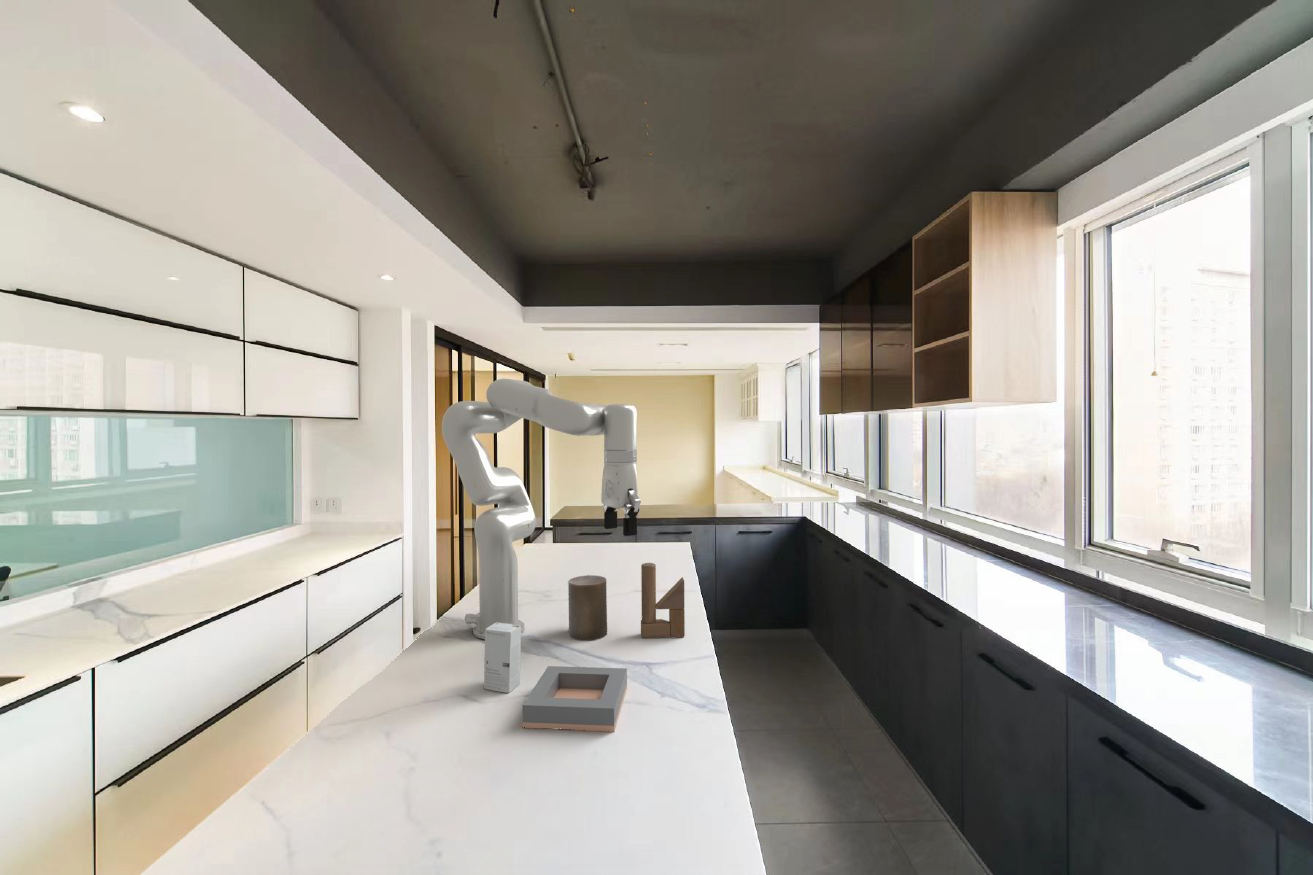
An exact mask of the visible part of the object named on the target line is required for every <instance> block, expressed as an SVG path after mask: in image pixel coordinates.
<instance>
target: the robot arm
mask: <svg viewBox="0 0 1313 875" xmlns="http://www.w3.org/2000/svg"><path fill="white" fill-rule="evenodd" d="M485 396H486V400H487V401H477V400H462V401H457V402H455V403H453V404H451V405H450V406H449V407H448V408H447V409H446V411H445V412H444V415H443V417H442V420H441V435H442V438H443V441H444V443H445V445H446V447H447V449H448V452H449V453H450V455H451V457H452V459H453V461H454V464H455V466H456V470H457V472H458V475H459V478H460V480H461V482H462V485H463V488H464V492H465V493H466V495H467V497H468V500H469V501H470V503H472V504H473V506H474V505H475V506H477V507H482V506H490V505H491V506H492V505H498V507H494V508H490V509H487V510H485V511H483V512H482V513H481V514H480V515H479V516H478V517H477V518H476V521H475V523H474V535H475V536H474V537H475V541H476V546H477V552H478V554H477V555H478V573H479V574H478V576H479V578H478V581H479V584H478V589H479V590H478V592H479V593H478V595H479V598H478V600H479V601H478V602H479V603H478V604H479V612H477V613H476V614H475V613H465V615H464V621H465V624H467V625H469V624H470V625H475V626H474V627H473V632H472V633H473V635H474V636H475V637H476V638H479V639H482V640H485V629H486V628H488V627H489V626H491V625H493V624H494V623H496V622H497V623H507V624H512V625H519V626H521V633H522V632H523V631H525V622H523V621H522V620H520V619H519V586H518V585H519V580H518V579H519V577H518V574H519V573H518V571H519V569H518V566H519V563H518V556H517V553H516V550H515V548H514V545H513V542H517V541H519V540H522V539H525V538H528V537H529V536H531V534H533V533H534V531H535V529H536V526H537V518H536V513H535V510H534V507H533V505H532V503H531V501H530V500H531V499H530V498H529V495H528V492H527V490H526V488H525V485H524V483H523V482H524V481H522V479H521V477H520V475H519V474H518V473H517V472H516V471H515V470H513V469H511V468H509V467H504V466H500V467H496V466H494V465H493V462H492V460H491V458H490V456H489V452H488V450H487V449H486V447H485V446H484V444H483V443H482V442H481V441H480V439H478V438H477V437H476V434H480V435H481V434H498V433H500V432H504V430H506V429H507V428H510V427H511V426H512V425H514V424H515V423H517V422H518V421H520V420H521V419H525V420H529V421H532V422H535V423H537V424H539V425H541V426H542V427H544V428H547V429H550V430H554V431H557V432H560V433H563V434H567V435H572V436H578V437H579V436H592V437H594V436H603V469H602V479H601V495H600V496H601V497H600V498H601V499H600V500H601V504H603V512H604V513H603V514H604V516H603V518H604V520H603V525H604V526H603V527H604V529H605V530H610V529H617V528H618V511H617V510H619V509H622V512H623V515H624V517H623V518H622V522H623V523H622V532H623V533H622V535H623V537H631V536H636V535H637V534H638V517H639V512H640V506H641V503H642V499H641V498H640V497H639V496H638V489H639V488H638V474H637V466H636V465H637V464H638V462H637V455H638V453H637V452H638V451H637V447H638V446H637V444H638V410H637V407H636V406H635V405H633V404H630V403H629V404H628V403H627V404H626V403H625V404H624V403H611V404H607V405H606V404H600V403H590V402H589V403H588V402H579V401H574V400H569V399H565V398H561V397H558V396H555V395H554V394H553V393H552V391H551V390H550V389H547V388H544V387H540V386H537V385H536V386H535V385H533V384H532V383H531V382H528V381H526V380H521V379H520V380H519V379H510V378H499V379H496V380H494V381H492V382H491V383H490V384H489V385H488V387H487V389H486V392H485Z"/></svg>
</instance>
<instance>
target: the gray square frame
mask: <svg viewBox="0 0 1313 875" xmlns="http://www.w3.org/2000/svg"><path fill="white" fill-rule="evenodd" d="M627 690H628V667H627V668H623V667H621V668H620V667H594V666H593V667H587V666H564V665H563V666H561V665H559V666H557V665H548V666H547V667H546V668H545V670H544V672H543V673H542V675H541V676H540V677H539V679H538V681H537V683H536V684H535V686H534V687H533V688H532V690H531V692H530V693H529V694H528V696H527V698H526V699H525V701H524V702H523V704H522V729H533V728H558V729H560V728H561V729H572V730H571V731H583V730H585V731H587V732H588V731H589V732H608V731H609V732H611V733H614V732H616V731H615V730H616V728H617V723H618V721H619V718H620V713H621V711H622V710H621V709H622V707H623V704H624V700H625V698H626V694H627ZM524 727H525V728H524ZM558 729H557V730H558ZM573 729H575V730H573Z"/></svg>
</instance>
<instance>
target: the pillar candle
mask: <svg viewBox="0 0 1313 875" xmlns="http://www.w3.org/2000/svg"><path fill="white" fill-rule="evenodd" d="M567 585H568V588H567V589H568V599H567V600H568V635H569V638H572V639H574V640H579V641H594V640H598V639H601V638H603V637H605V636H606V635H608V611H607V610H608V607H607V606H608V605H607V604H608V601H607V600H608V599H607V578H606V577H605V576H601V575H594V574H593V575H592V574H590V575H589V574H587V575H579V576H575V577H572V578H570V579H569V580H568V581H567Z"/></svg>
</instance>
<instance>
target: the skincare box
mask: <svg viewBox="0 0 1313 875" xmlns="http://www.w3.org/2000/svg"><path fill="white" fill-rule="evenodd" d="M521 640H522V632H521V626H519V625H512V624H507V623H497V622H496V623H494V624H493V625H491V626H489V627H488V628H486V629H485V639H484V659H483V660H484V666H483V667H484V670H483V675H484V676H483V689H485V690H489V691H495V692H499V693H500V692H501V693H506V694H507V693H510V692H512V691H514V690H515V689H516V688H517V687H518V686H519V685H520V684H521V649H522V648H521V647H522V646H521V645H522V644H521V643H522V641H521Z"/></svg>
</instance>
